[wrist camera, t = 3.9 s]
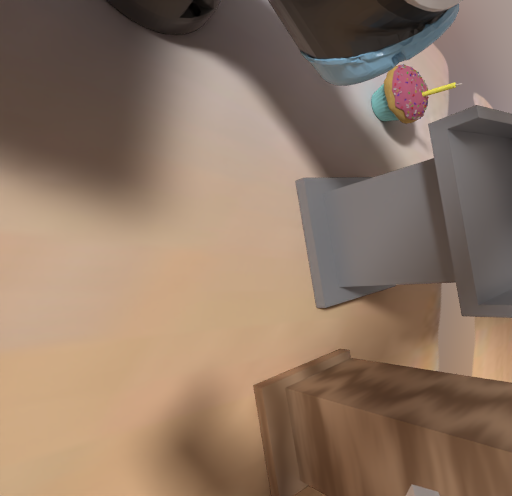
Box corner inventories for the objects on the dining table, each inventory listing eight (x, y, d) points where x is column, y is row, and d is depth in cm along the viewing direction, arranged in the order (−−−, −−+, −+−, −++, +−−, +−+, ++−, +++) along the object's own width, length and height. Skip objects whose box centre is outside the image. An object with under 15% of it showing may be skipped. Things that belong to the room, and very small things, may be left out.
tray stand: (317, 311, 47) (514, 317, 29) (294, 177, 47) (476, 104, 30) (387, 289, 56) (570, 284, 38) (368, 176, 56) (541, 121, 39)
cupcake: (402, 119, 63) (477, 86, 54) (380, 142, 59) (458, 111, 49) (379, 72, 61) (453, 29, 51) (354, 92, 56) (431, 49, 47)
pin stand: (271, 498, 40) (720, 803, 16) (253, 385, 40) (666, 513, 16) (355, 442, 48) (732, 583, 24) (340, 348, 48) (697, 396, 24)
